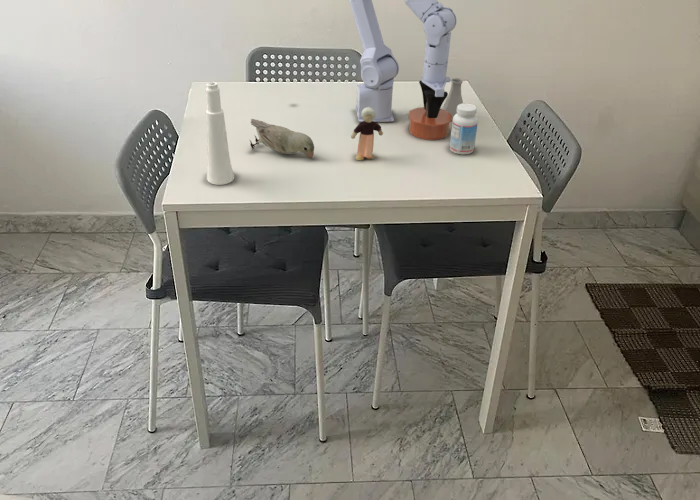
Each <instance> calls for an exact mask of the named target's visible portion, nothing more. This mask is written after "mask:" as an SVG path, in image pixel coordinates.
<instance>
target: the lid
mask: <svg viewBox="0 0 700 500" xmlns="http://www.w3.org/2000/svg"><path fill="white" fill-rule="evenodd" d="M407 117H408V119H409V121H410V120H411V121H413V122H414V123H417V124H420V125H424V126H443V125H446V124H448V123H450V124H451V122H453V120H452V115H451V114H450V113H449V112H447V111H445V110H443V109H442V108H440V111H439V114H438V116H437V118H429V117H428V106H427V102H426V110H425V109H424V106H421V107H415V108H413V109H410V110H409V112H408V115H407Z"/></svg>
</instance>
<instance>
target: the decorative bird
mask: <svg viewBox="0 0 700 500" xmlns="http://www.w3.org/2000/svg"><path fill="white" fill-rule="evenodd" d="M250 124H251V126H253V127H255V130H256V133H257V136H256V135H255V134H254V137H255V143H253V142H252V140H249V144H250V148H251V151H254V150H255V148H256V146H259V145H260V144H262V145H264V146H265V147H266V148H269V149H271V150H273V151H276V152H278V153H280V154H289V155H291V154H292V155H293V154H296V153H303V154H304V155H306V156H307V157H308V158H309V159H313V158H314V155H315V154H314V153H315V144H314V141H313V140H312V138H311V137H310V136H309V135H308V134H306V133H304V132H299V131H295V130H291V129H289V128H287V127H284V126H282V125H275V124H270V123H268V122H265V121H263V120H259V119H256V118H251V119H250Z"/></svg>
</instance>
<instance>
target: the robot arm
mask: <svg viewBox="0 0 700 500" xmlns="http://www.w3.org/2000/svg"><path fill="white" fill-rule="evenodd" d="M348 3H349V6H350V10H351V13H352V16H353V19H354V23H355V26H356V30H357V33H358V36H359V40H360V44H361V46H362V51H363V53H362V54H361V57H360V60H359V63H360V77H361V81H362V82H363V83H361V84H357V87H356V102H355V104H356V105H355V112H356V117H357V120H358V122H359V123H360V122H363V121H364V120H363V117H362V114H361V112H362V110H363V109H364V108H367V107H370V108H372V109H373V110H374V111H375V113H376V115H375V117H374V119H373V122H376V123H388V122H389V123H390V122H391V123H392V122H395V118H394V115H393V113H392V107H393V105H392V104H393V90H394V82H395V78H396V77H397V76H398V74H399V73H400V65H399V63H398V60H397V59H396V58H395V57H394V54H393V52H392V49H391V48H390V47H389V46H387V45H386V44H385V43H384V39H383V35H382V32H381V28H380V25H379V21H378V18H377V14H376V11H375V7H374V3H373V0H348ZM404 4H405V5H406V6H407V7H408V8H409V9H410V11H411V12H412V13H413V14H414V15H415V16H416V17H417V18H418V19H419V20H420V22H421V23H422V29H423V32H424V34H425V35H426V37H425V50H424V60H423V70H422V76H421V80H419V81H418V83H419V86H420V89H421V94H422V102H423V107H424V109H425V110H426V102H427V106H428V117H429V118H437V116H438V114H439V111H440V109H442V106H443V103H445V101H446V99H447V97H448V95H449V93H448V91H445V87H446V84H448V83H451V78H450V77H449V76H447V72H448V63H449V56H450V55H449V54H450V47H451V38H452V31H454V29H455V27H456V25H457V16H456V14H455V12H454V11H453V9H452V8H450V7H448V6H444V5H443V3H442V2H439V1H438V0H404Z"/></svg>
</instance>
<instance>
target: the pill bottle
mask: <svg viewBox="0 0 700 500" xmlns="http://www.w3.org/2000/svg"><path fill="white" fill-rule="evenodd" d="M477 111H478V108H477V106H476V105H474V104H472V103H467V102H466V103H464V102H463V104H459V105H458V106H457V114H456V115H454V117H453V120H452V121H451V122H452V123H451V131H450V132H451V133H450V142H449V149H450V151H451V152H452V153H454V154H456V155H457V154H458V155H469V154H472V153H473V152H474V150H475V145H476V138H477V131H478V125H479V124H478V123H479V117H478V116H477V115H476V114H477Z"/></svg>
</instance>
